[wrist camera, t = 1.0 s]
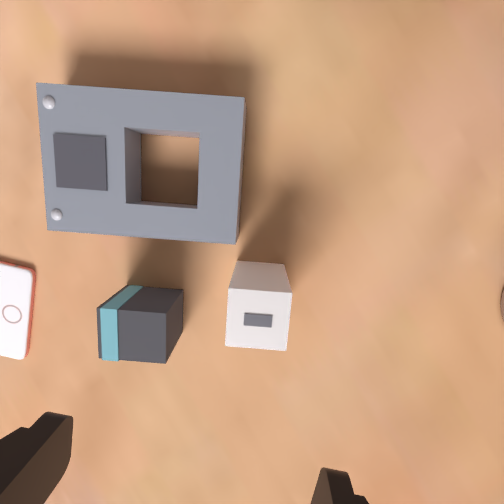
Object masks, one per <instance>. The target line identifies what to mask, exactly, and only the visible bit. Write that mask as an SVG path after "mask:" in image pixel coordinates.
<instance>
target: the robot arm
mask: <svg viewBox="0 0 504 504" xmlns="http://www.w3.org/2000/svg"><path fill="white" fill-rule="evenodd" d="M501 314H502V317H503V320H504V290H503V293H502V298H501ZM72 432H73V417H72V416H67V415H62V414H57V413H52V412H46V413H44V414H43V415H42V416H41V417H40V418H39V419H38V420H37V421H36V422H35V423H34V424H33V425H32V426H31V427H30V428H24V427H20V428H19V429H17V430H15V431H14V432H12V433H10V434H9V435H7V436H5V437H4V438H2V439H0V504H44V503H45V501H46V500H47V498H48V497H49V495H50V494H51V493H52V491H53V490H54V488H55V487H56V485H57V484H58V482H59V481H60V480H61V478H62V476H63V475H64V473H65V471H66V469H67V466H68V464H69V461H70V457H71V446H72ZM311 504H369V503H368V502H367V500H366V498H365V497H364V496H359V495H354V492H353V488H352V485H351V481H350V478H349V475H348V473H347V472H344V471H338V470H333V469H328V468H322V469H321V471H320V474H319V477H318V481H317V484H316V487H315V491H314V494H313V498H312V501H311Z"/></svg>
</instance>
